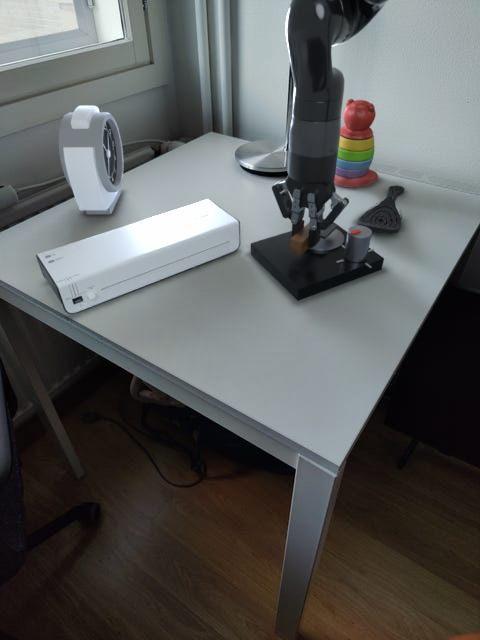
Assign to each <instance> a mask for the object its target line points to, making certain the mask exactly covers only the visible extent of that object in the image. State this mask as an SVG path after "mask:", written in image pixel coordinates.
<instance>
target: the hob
mask: <svg viewBox="0 0 480 640" xmlns="http://www.w3.org/2000/svg"><path fill="white" fill-rule="evenodd" d="M332 224H335V225H337V228H336V229H338V230H339V231H340V232H341V233H342V234H343V235H344V243H343V244H342V245H341V247H339V248H337V249H335V250H332V251H326V252H318V251H312V250H308V249H307V250H306V251H305V252H304V253H303V254H302V255H301V256H300V255H297V254H294V253H291V252H290V239H291V238H292V230H290V231H286V232H284V233H280V234H277V235H273V236H270V237H267V238H263V239H261V240H257V241H253V242H251V243H250V255H251V256H252V258H254V259H255V260H256V261H257V262H258V264H260V265H261V267H263V268H264V269H265V270H266V271H267V273H269V274H270V276H272V277H273V278H274V280H276V281H277V282H278V283H279V284H280V285H281V287H283V288H284V289H285V290H286V291H287V292H288V293H289V294H290V295H291V296H292V297H293V298H294V299H295V300H296V301H297V302H299V301H301V300H304V299H307V298H310V297H313V296H315V295H318V294H321V293H324V292H326V291H329V290H332V289H334V288H337V287H339V286H343V285H345V284H348V283H350V282H353V281H356V280H358V279H362V278H364V277H367V276H369V275H372V274H374V273H377V272H379V271H382V270H383V266H384V261H385V258H384V257H383V256H382V255H380V254H379V253H378V252H376V251H375V249H374V248H371V247H369V250H368V255H367V259H366V260H365V261H363V262H351V261H349V260H347V259H346V258H345V257H344V252H345V246H346V239H347V233H348V230H347V231H346V230H345V229H344V228H343V227H341V226H340V225H339V224H337V223H336V222H335V221H334V222H333V223H332Z"/></svg>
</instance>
